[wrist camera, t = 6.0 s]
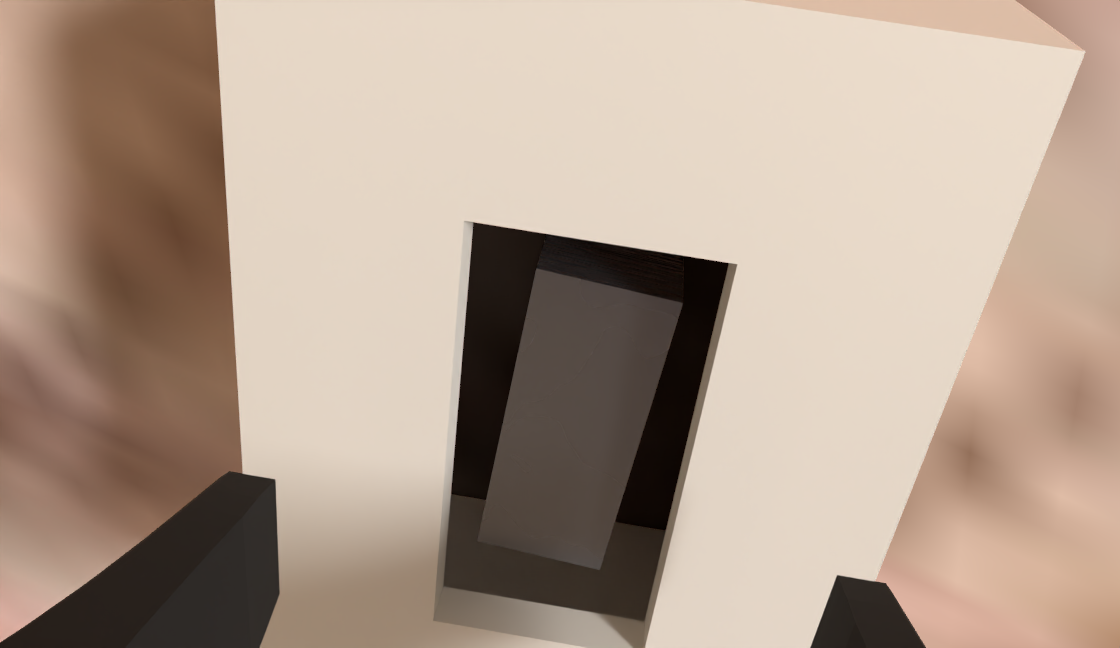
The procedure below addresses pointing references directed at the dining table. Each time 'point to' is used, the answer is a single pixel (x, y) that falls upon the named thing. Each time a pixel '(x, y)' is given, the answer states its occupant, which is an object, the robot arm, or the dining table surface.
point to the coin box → (627, 220)
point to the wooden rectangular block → (580, 396)
